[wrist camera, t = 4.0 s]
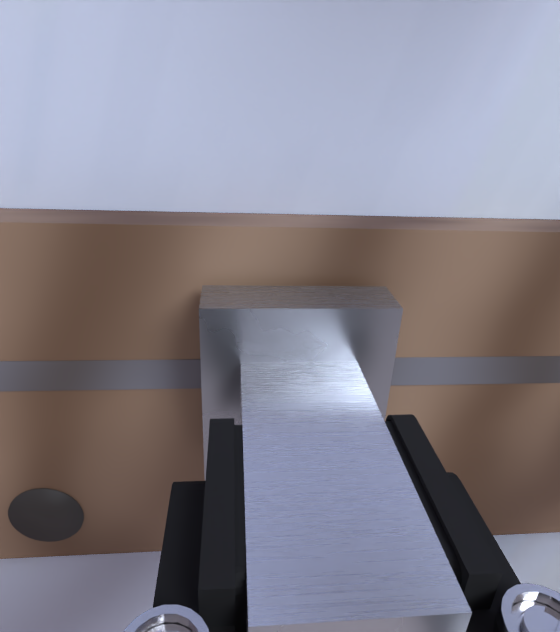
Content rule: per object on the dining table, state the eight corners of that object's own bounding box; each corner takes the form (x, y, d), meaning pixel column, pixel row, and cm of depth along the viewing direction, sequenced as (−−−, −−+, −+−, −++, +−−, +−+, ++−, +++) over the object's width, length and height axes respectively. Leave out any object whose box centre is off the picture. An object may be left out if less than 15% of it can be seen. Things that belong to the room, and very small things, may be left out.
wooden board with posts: (779, 224, 16) (1529, 407, 7) (645, 497, 21) (964, 812, 12) (-232, 203, 13) (-1386, 483, 4) (-99, 528, 18) (-442, 981, 9)
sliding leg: (385, 286, 13) (575, 529, 6) (351, 522, 17) (441, 847, 10) (202, 285, 13) (161, 549, 5) (209, 528, 16) (191, 875, 9)
